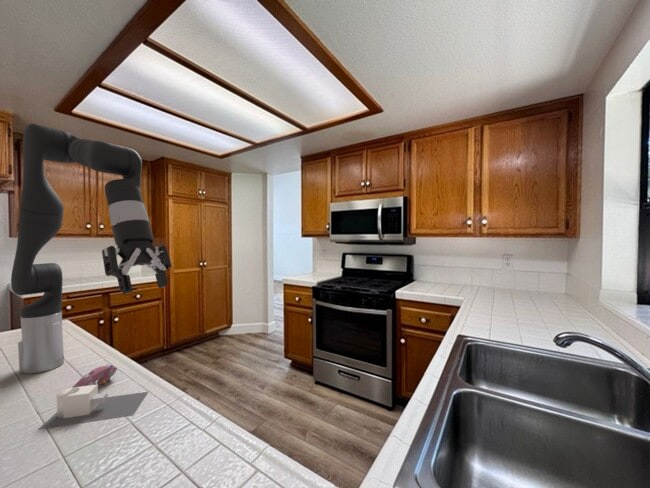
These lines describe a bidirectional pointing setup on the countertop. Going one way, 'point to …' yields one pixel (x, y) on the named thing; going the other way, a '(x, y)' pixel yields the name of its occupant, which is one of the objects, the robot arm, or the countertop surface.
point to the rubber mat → (102, 411)
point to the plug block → (79, 401)
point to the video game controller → (97, 376)
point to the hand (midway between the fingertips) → (146, 289)
